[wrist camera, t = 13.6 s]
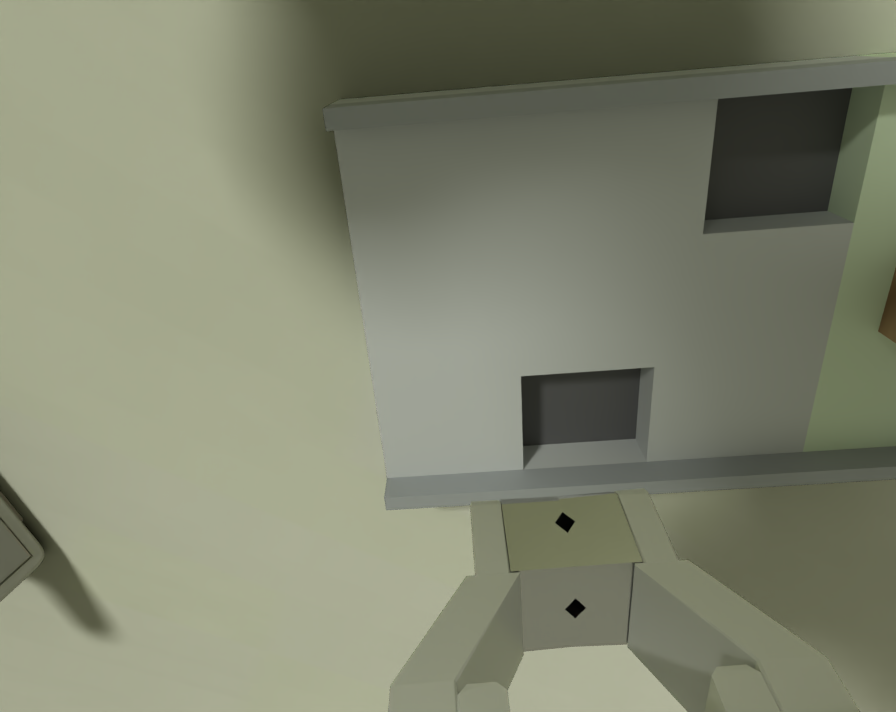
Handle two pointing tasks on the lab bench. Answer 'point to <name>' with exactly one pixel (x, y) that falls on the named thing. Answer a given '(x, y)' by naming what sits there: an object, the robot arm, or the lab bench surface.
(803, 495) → the lab bench surface
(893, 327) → the walnut block
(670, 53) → the lab bench surface
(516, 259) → the box
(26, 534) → the digital clock
